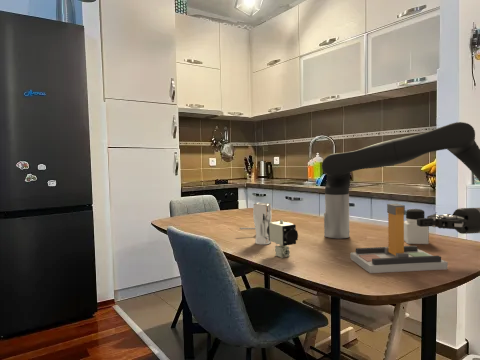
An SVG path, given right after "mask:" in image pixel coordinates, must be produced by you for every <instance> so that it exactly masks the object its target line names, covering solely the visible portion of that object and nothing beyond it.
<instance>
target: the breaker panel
mask: <svg viewBox="0 0 480 360" xmlns="http://www.w3.org/2000/svg"><path fill="white" fill-rule="evenodd" d="M384 247H385V253H367V254H357V253H356V251H355V252H350V260H351V261H353V262H354V263H356V264H357V265H358V266H359V267H361V268H363V270H364V271H366V272H368V273H369V274H378V273H379V274H380V273H382V274H383V273H398V272H399V273H400V272H419V271H420V272H421V271H422V272H424V271H439V270H448V268H449V267H448V265H449V264H448V263H449V262H448V261H446V260H443V259H442V258H441V262H429V263H408V264H388V265H373V264H372V259H376V258H397V257H418V256H434V255H433V254H430V253H428V252H427V251H426V252H425V251H424V250H421V249H419V248H418V251H410V252H404V253H396V256H395V255H393V254H391V253H390V252H389V250H388V246H384Z"/></svg>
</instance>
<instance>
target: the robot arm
mask: <svg viewBox="0 0 480 360" xmlns="http://www.w3.org/2000/svg"><path fill="white" fill-rule="evenodd" d="M444 150H447V151H448V152H449V153H451V154H452V155H453V156H454V157H456V158H457V159H458V161H460V162H462V164H464V165H465V166H466V167H467V168H468V169H469V171H471V173H472V174H473V175H474V176H475V178H476V179H477V180H478V182H480V147H479V145H478V144H477V142H476V130H475V127H473V126H472V125H471V124H469V123H468V122H462V121H459V122H457V121H456V122H453V123H452V122H451V123H449V124H447V125H442V126H440V127H437V128H434V129H432V130H428V131H426V132H421V133H417V134H416V133H415V134H411V135H406V136H402V137H397V138H393V139H390V140H385V141H382V142H378V143H375V144H372V145H369V146H365V147H363V148H360V149H357V150H353V151H345V152H339V153H331V154H328V155H327V156H325V158H324V159H323V161H322V163H321V169H322V171H323V173H324V174H326V184H325V187H324V199H325V201H324V208H325V209H324V211H325V212H324V214H323V222H324V223H323V227H324V228H323V230H324V231H323V235H324V238H330V239H339V240H340V239H347V238H350V194H349V193H350V185H351V173H352V172H355V171H359V170H365V169H366V170H367V169H368V170H369V169H375V168H376V169H377V168H378V169H379V168H384V167H385V168H386V167H390V166H391V167H392V166H396V165H399V164H404V163H407V162H410V161H413V160H414V159H417V158H419V157H421V156H423V155H426V154H429V153H431V152H437V151H444ZM417 226H420V227H427V226H429V227H433V228H437V229H444V230H445V229H447V230H448V229H449V230H455V231H456V232H457V233H459V234H461V235H464V234H465V235H466V234H480V207H459V208H456V209H455V210H454V211H453V213H452V214H451V213H444V214H437V213H434V214H430V215H428V216H426V217H425V218H418V219H417Z"/></svg>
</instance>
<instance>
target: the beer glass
mask: <svg viewBox="0 0 480 360" xmlns="http://www.w3.org/2000/svg"><path fill="white" fill-rule="evenodd" d="M252 210H253V211H252V215H253V216H252V217H253V224H254V228H255V229H254V230H255V240H254V242H255V243H254V244H256V245H260V246H264V245H269V244H271V243H272V241H269V235H268V234H267V227H268V222H272V215H273V213H272V203H270V202H257V203H253V209H252Z"/></svg>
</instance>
